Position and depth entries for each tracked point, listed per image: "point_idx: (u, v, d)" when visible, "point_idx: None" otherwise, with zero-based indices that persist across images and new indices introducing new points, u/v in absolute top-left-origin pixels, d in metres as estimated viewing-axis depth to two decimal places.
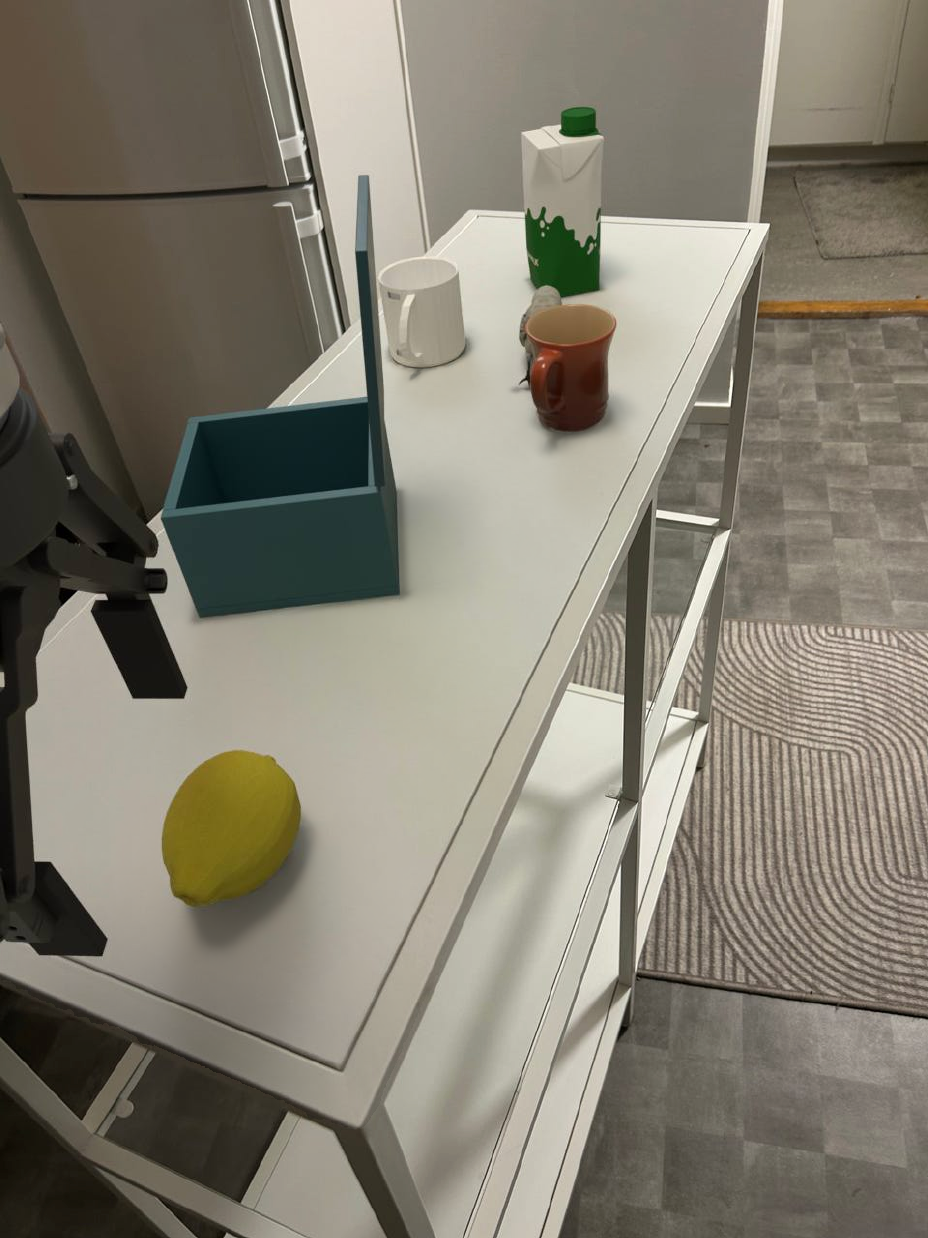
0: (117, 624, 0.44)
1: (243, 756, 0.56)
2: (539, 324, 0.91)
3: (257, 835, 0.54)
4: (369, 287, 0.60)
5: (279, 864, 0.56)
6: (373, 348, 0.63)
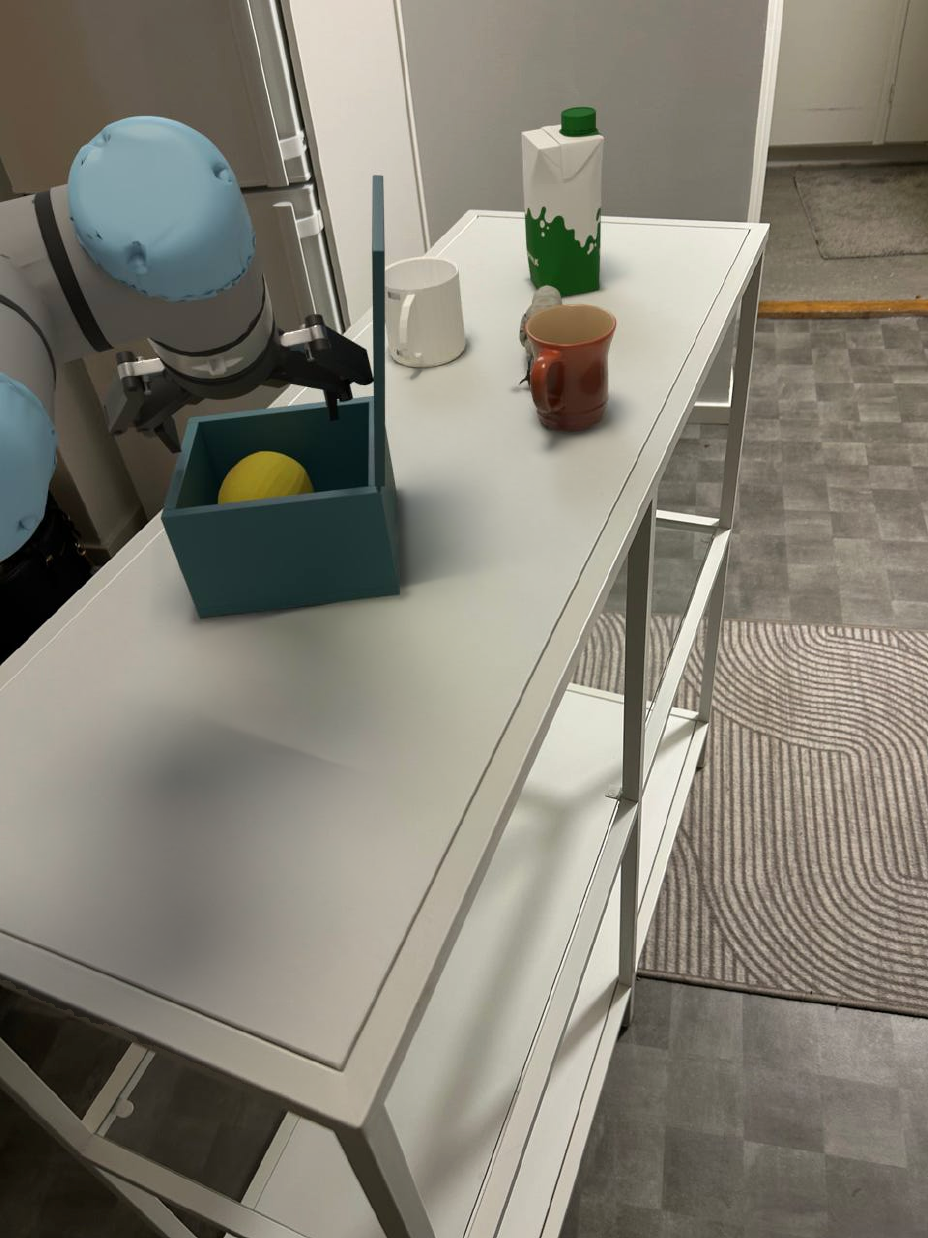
0: None
1: (264, 451, 0.79)
2: (539, 324, 0.91)
3: (280, 489, 0.76)
4: (383, 287, 0.60)
5: None
6: (383, 348, 0.63)
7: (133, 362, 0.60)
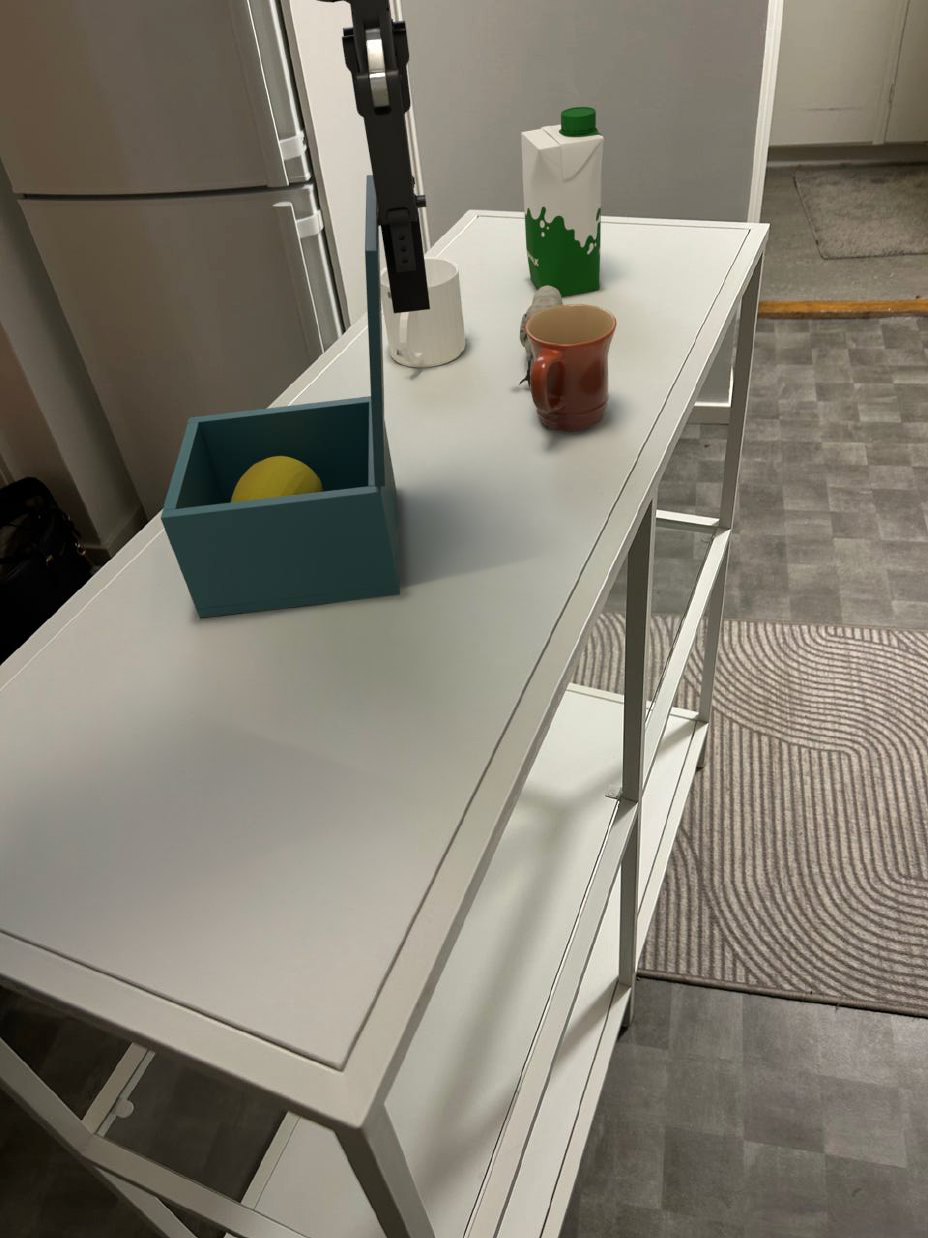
0: None
1: (284, 456, 0.79)
2: (539, 324, 0.91)
3: None
4: (377, 287, 0.60)
5: None
6: (379, 348, 0.63)
7: (369, 70, 0.53)
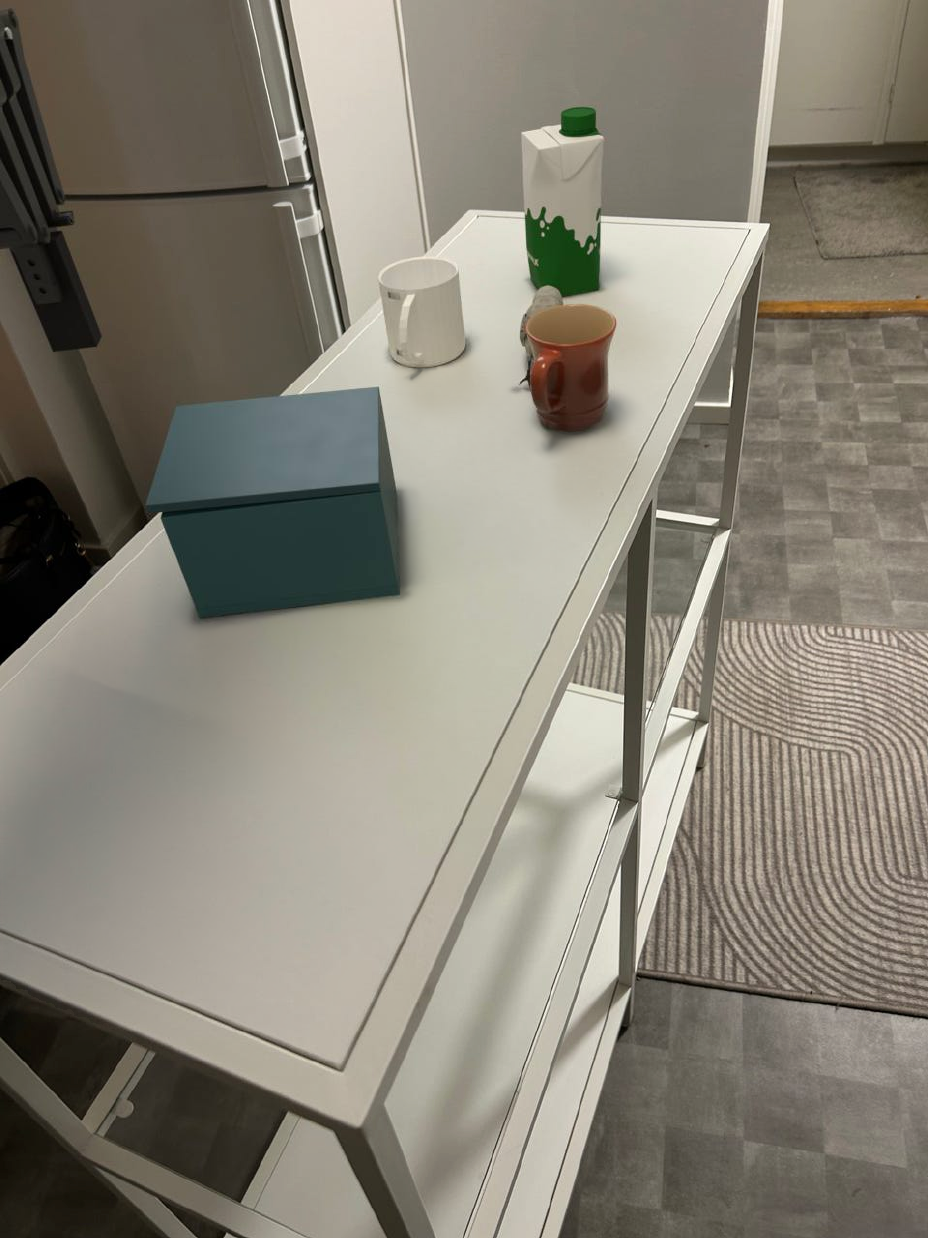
0: None
1: None
2: (539, 324, 0.91)
3: None
4: (176, 502, 0.70)
5: None
6: (231, 497, 0.70)
7: None
